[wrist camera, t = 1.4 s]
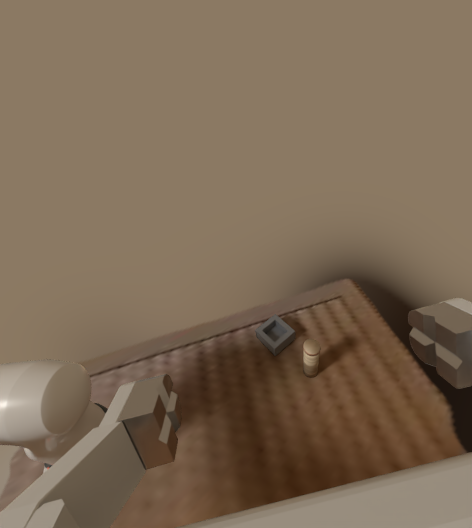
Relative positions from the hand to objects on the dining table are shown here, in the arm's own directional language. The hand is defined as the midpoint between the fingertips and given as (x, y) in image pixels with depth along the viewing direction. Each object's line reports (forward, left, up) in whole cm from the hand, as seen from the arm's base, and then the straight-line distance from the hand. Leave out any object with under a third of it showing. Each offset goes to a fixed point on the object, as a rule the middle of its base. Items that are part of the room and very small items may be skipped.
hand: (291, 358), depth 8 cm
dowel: (+21, +16, -60) cm, 66 cm away
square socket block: (+21, +29, -60) cm, 70 cm away
